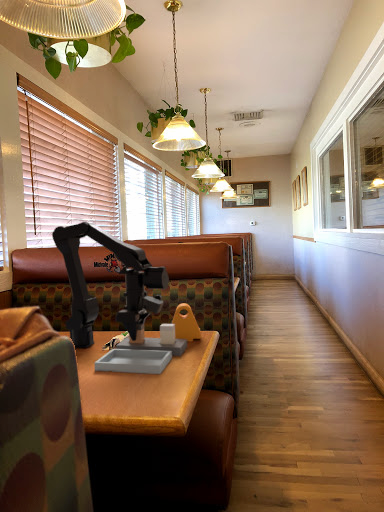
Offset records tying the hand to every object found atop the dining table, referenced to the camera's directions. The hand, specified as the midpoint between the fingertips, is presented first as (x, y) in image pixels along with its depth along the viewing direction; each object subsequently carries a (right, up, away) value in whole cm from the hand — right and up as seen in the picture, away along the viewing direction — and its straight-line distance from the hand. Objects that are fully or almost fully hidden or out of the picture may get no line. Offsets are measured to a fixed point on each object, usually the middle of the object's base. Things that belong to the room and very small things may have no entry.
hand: (136, 338), depth 116 cm
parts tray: (+1, -4, -13) cm, 14 cm away
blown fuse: (0, -4, 0) cm, 4 cm away
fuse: (+10, -3, -2) cm, 11 cm away
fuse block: (+5, -3, -1) cm, 6 cm away
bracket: (+15, -3, +11) cm, 19 cm away
